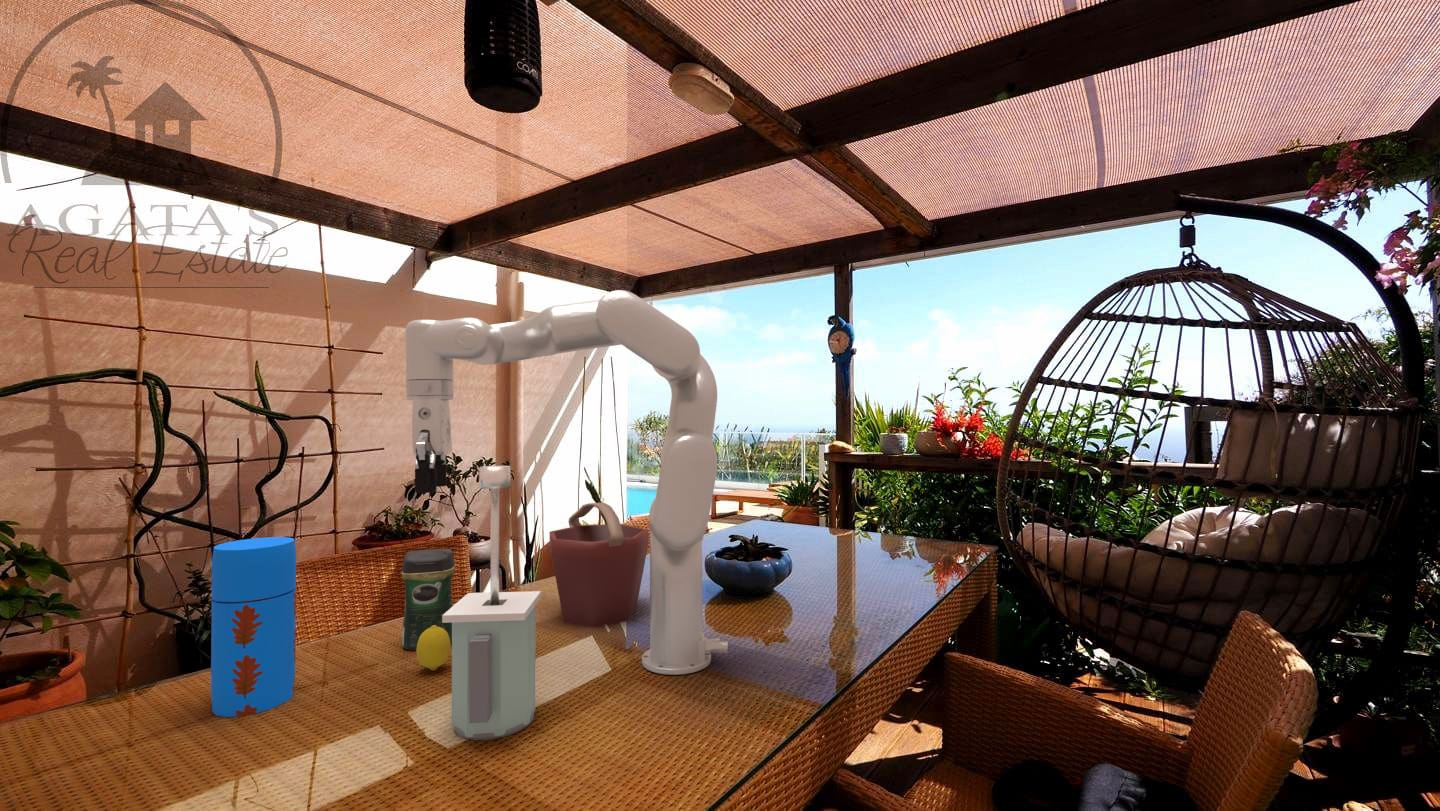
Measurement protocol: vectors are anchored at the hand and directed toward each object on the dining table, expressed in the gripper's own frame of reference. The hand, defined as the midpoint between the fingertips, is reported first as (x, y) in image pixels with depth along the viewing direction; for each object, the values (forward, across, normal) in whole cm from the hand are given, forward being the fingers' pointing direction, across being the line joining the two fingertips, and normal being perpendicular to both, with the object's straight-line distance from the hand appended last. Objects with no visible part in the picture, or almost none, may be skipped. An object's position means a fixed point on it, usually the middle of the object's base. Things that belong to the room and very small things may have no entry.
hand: (431, 489), depth 111 cm
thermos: (+32, -3, +26) cm, 41 cm away
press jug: (+33, -21, -12) cm, 40 cm away
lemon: (+33, +3, +1) cm, 33 cm away
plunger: (+19, -20, -12) cm, 30 cm away
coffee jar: (+32, +17, +4) cm, 37 cm away
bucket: (+33, +28, -30) cm, 53 cm away
